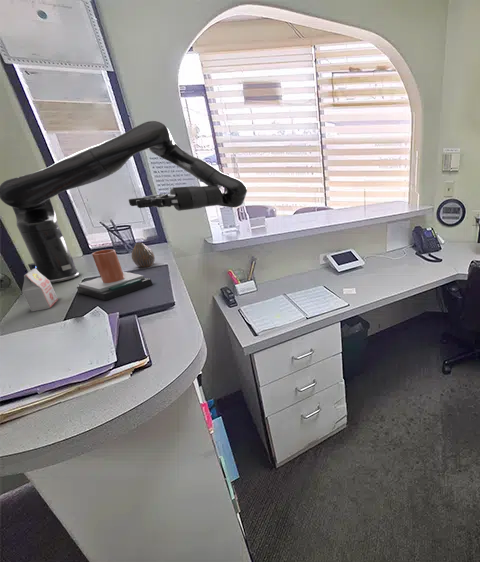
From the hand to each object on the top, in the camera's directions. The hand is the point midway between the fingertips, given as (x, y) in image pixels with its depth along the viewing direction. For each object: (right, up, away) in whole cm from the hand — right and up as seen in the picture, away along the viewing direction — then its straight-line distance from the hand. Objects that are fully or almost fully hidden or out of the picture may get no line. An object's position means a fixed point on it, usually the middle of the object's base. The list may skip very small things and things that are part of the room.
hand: (133, 203), depth 95 cm
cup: (-6, -24, +1) cm, 24 cm away
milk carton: (-18, -31, -8) cm, 37 cm away
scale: (-6, -26, +2) cm, 27 cm away
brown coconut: (-13, -18, +23) cm, 32 cm away
